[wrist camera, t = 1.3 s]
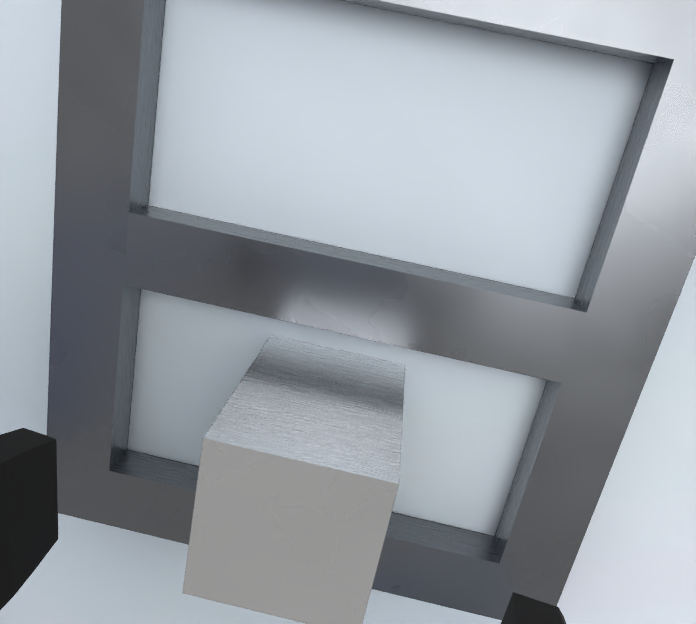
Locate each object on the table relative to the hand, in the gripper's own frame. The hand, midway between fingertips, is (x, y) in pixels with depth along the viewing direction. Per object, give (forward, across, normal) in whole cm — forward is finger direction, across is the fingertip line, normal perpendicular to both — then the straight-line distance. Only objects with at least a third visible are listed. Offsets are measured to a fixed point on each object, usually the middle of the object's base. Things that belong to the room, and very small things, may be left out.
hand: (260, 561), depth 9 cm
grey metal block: (+9, +1, +3) cm, 9 cm away
